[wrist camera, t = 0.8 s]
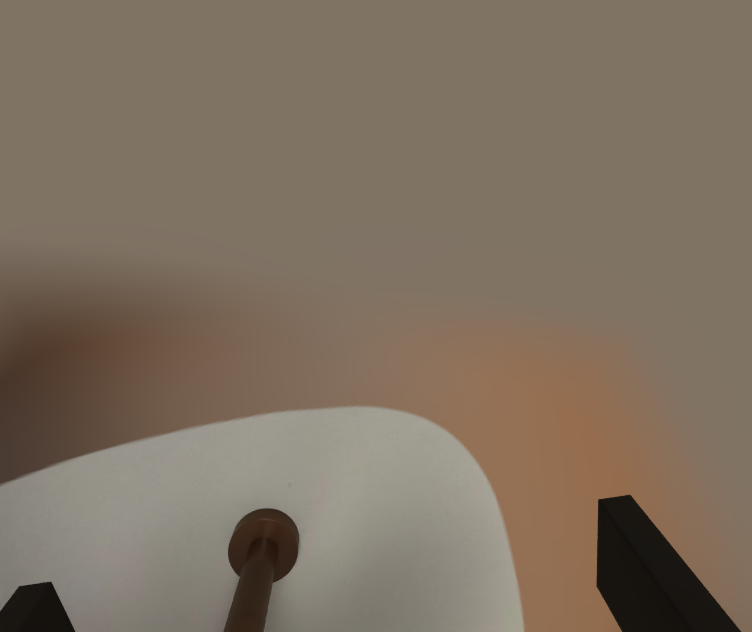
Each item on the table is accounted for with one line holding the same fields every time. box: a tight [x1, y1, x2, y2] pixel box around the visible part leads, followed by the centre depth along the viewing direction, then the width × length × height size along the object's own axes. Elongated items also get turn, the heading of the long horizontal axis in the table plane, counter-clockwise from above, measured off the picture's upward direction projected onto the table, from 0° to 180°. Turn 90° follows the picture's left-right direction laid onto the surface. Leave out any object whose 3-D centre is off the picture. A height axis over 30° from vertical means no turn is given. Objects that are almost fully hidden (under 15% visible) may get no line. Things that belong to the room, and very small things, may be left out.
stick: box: [223, 509, 299, 632], centre depth 25 cm, size 5×5×17 cm
